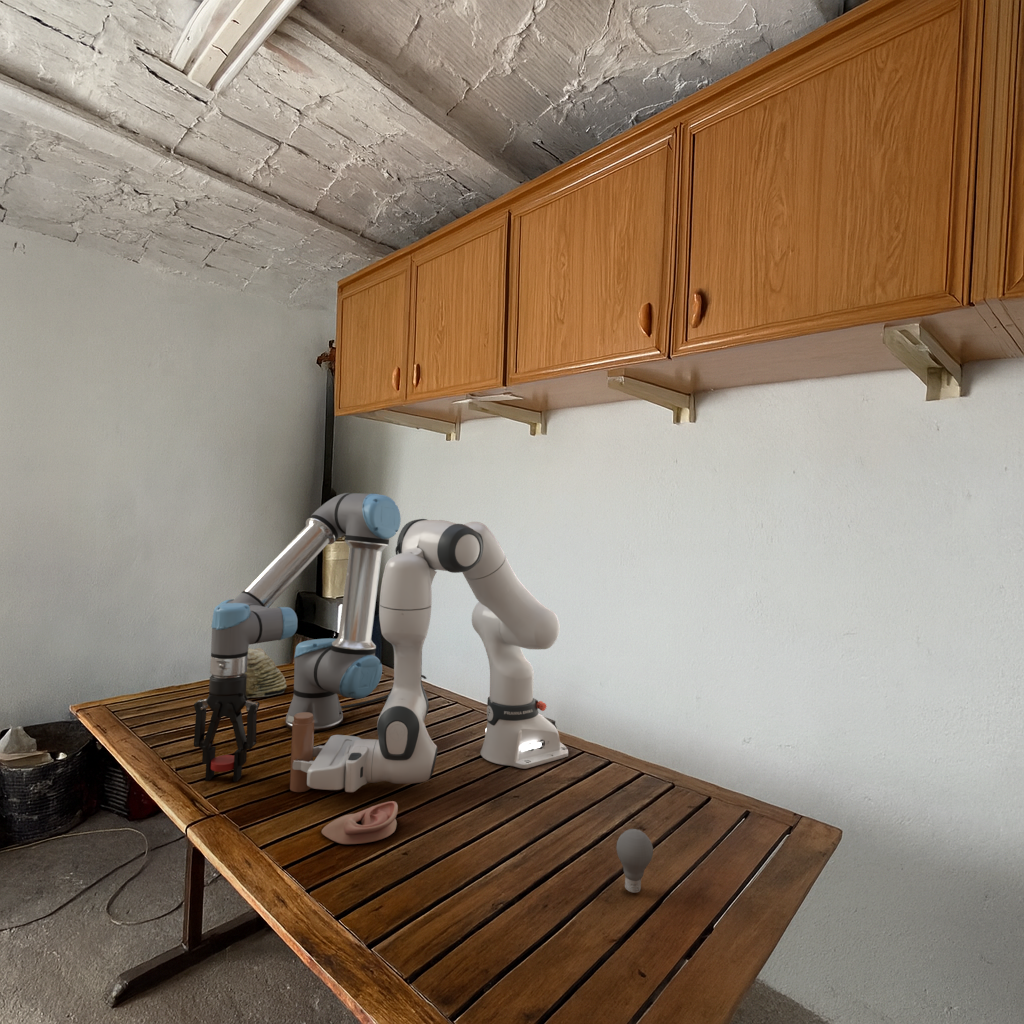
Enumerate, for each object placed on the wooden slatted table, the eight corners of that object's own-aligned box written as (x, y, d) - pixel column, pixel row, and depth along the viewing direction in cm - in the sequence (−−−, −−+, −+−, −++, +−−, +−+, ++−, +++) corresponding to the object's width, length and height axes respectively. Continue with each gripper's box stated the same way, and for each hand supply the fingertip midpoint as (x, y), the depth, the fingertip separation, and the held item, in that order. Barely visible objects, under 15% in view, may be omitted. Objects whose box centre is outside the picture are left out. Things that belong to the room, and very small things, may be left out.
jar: (285, 787, 137) (288, 714, 137) (305, 780, 141) (307, 710, 141) (296, 794, 134) (299, 720, 134) (316, 787, 138) (318, 715, 137)
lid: (207, 772, 137) (207, 764, 137) (214, 762, 142) (214, 755, 142) (233, 771, 138) (233, 764, 138) (239, 761, 143) (240, 754, 143)
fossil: (218, 695, 195) (220, 647, 195) (278, 685, 208) (279, 640, 207) (228, 703, 189) (230, 653, 188) (289, 692, 201) (290, 645, 201)
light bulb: (610, 879, 108) (613, 822, 108) (644, 879, 109) (647, 822, 109) (619, 902, 102) (622, 840, 102) (655, 901, 103) (658, 840, 103)
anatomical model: (313, 818, 117) (342, 790, 128) (313, 839, 117) (341, 810, 128) (381, 829, 114) (404, 800, 125) (380, 850, 114) (403, 819, 125)
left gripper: (178, 677, 136) (172, 784, 136) (264, 680, 136) (259, 787, 137) (194, 667, 143) (189, 769, 144) (276, 671, 144) (271, 773, 144)
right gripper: (371, 728, 148) (312, 726, 148) (352, 765, 128) (283, 763, 127) (370, 755, 148) (311, 753, 148) (351, 796, 128) (281, 794, 127)
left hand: (223, 778), depth 140 cm, fingers closed on lid, 5 cm apart
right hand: (297, 758), depth 137 cm, fingers closed on jar, 4 cm apart
